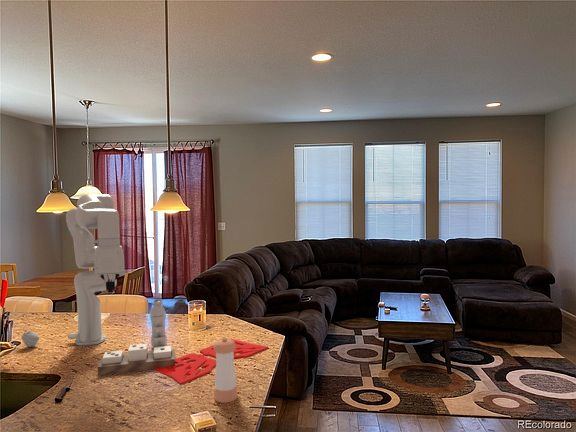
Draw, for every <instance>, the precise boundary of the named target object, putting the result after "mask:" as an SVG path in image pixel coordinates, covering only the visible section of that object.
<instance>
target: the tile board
mask: <svg viewBox="0 0 576 432" xmlns="http://www.w3.org/2000/svg"><path fill="white" fill-rule="evenodd" d="M147 352H148V357H147V360H139V361H129V357H128V352H127V353H123V361H122V362H119V363H110V364H103V356H104V355H102V356H101V359H100V360H99V363H98V366H97V376H105V375H112V374H113V375H114V374H123V373H130V372H131V373H132V372H141V371H142V372H143V371H150V370H155V367H162V368H165V369H167V368H166V366H173V365H175V359H176V349H175V348H171V357H168V358H158V359H154V350H147Z"/></svg>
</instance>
